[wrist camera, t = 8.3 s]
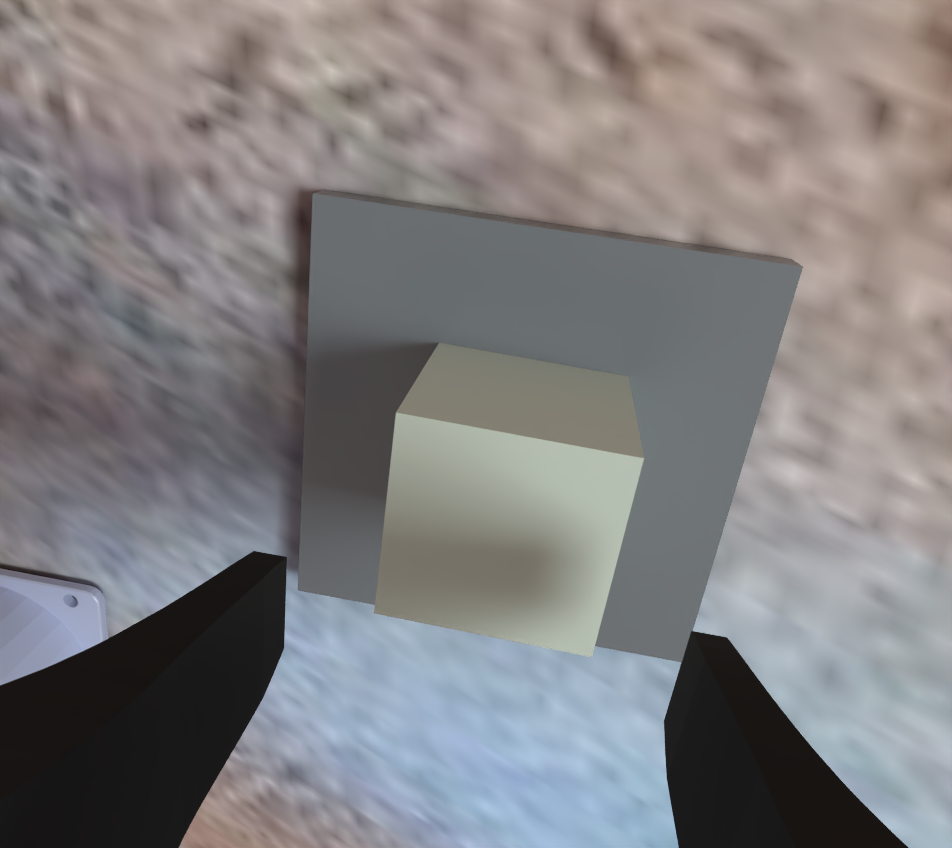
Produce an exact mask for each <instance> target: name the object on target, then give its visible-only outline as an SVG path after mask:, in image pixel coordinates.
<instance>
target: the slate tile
mask: <svg viewBox="0 0 952 848" xmlns="http://www.w3.org/2000/svg"><path fill="white" fill-rule="evenodd" d="M802 268H803V267H802V266H801V265H800V264H798V263H797V262H795V261H794V260H792V259H786V258H780V257H773V256H766V255H760V254H753V253H746V252H740V251H733V250H726V249H719V248H713V247H706V246H699V245H693V244H686V243H679V242H672V241H666V240H659V239H652V238H646V237H639V236H632V235H625V234H619V233H612V232H605V231H599V230H592V229H585V228H579V227H572V226H565V225H558V224H552V223H545V222H538V221H532V220H525V219H518V218H511V217H505V216H498V215H491V214H485V213H478V212H471V211H464V210H458V209H451V208H444V207H438V206H431V205H424V204H417V203H411V202H404V201H397V200H391V199H384V198H377V197H371V196H364V195H357V194H350V193H344V192H337V191H330V190H323V191H319V192H316V193H313V196H312V223H311V250H310V276H309V303H308V330H307V357H306V383H305V410H304V437H303V463H302V490H301V517H300V543H299V570H298V590H299V591H305V592H310V593H315V594H321V595H326V596H331V597H337V598H342V599H347V600H353V601H358V602H363V603H369V604H374V605H375V600H376V591H377V582H378V573H379V563H380V554H381V545H382V536H383V527H384V518H385V508H386V499H387V490H388V481H389V472H390V463H391V454H392V444H393V435H394V426H395V417H396V412H397V410H398V408H399V407H400V405H401V404H402V402H403V400H404V399H405V397H406V396H407V394H408V392H409V391H410V389H411V387H412V386H413V384H414V383H415V381H416V379H417V378H418V376H419V374H420V373H421V371H422V370H423V368H424V366H425V365H426V363H427V361H428V360H429V358H430V357H431V355H432V353H433V352H434V350H435V349H436V347H437V345H438V344H439V343H444V344H449V345H455V346H461V347H466V348H472V349H478V350H483V351H489V352H494V353H500V354H506V355H511V356H517V357H522V358H528V359H534V360H539V361H545V362H550V363H556V364H562V365H567V366H573V367H578V368H584V369H590V370H595V371H601V372H606V373H612V374H618V375H623V376H628V377H629V382H630V387H631V392H632V398H633V403H634V408H635V413H636V419H637V424H638V429H639V434H640V440H641V445H642V450H643V455H644V461H643V465H642V468H641V472H640V476H639V480H638V484H637V487H636V491H635V495H634V499H633V503H632V506H631V510H630V514H629V518H628V522H627V525H626V529H625V533H624V537H623V541H622V545H621V548H620V552H619V556H618V560H617V564H616V567H615V571H614V575H613V579H612V583H611V586H610V590H609V594H608V598H607V602H606V606H605V609H604V613H603V617H602V621H601V625H600V628H599V632H598V636H597V640H596V644H595V646H598V647H603V648H609V649H614V650H619V651H625V652H630V653H636V654H641V655H646V656H652V657H657V658H662V659H668V660H673V661H678V662H682V660H683V657H684V653H685V650H686V647H687V643H688V640H689V637H690V633H691V631H693V627H694V624H695V621H696V618H697V614H698V611H699V608H700V604H701V601H702V598H703V594H704V591H705V588H706V585H707V581H708V578H709V575H710V571H711V568H712V565H713V561H714V558H715V555H716V552H717V548H718V545H719V542H720V538H721V535H722V532H723V528H724V525H725V522H726V519H727V515H728V512H729V509H730V505H731V502H732V499H733V496H734V492H735V489H736V486H737V482H738V479H739V476H740V472H741V469H742V466H743V463H744V459H745V456H746V453H747V449H748V446H749V443H750V439H751V436H752V433H753V430H754V426H755V423H756V420H757V416H758V413H759V410H760V406H761V403H762V400H763V397H764V393H765V390H766V387H767V383H768V380H769V377H770V373H771V370H772V367H773V364H774V360H775V357H776V354H777V350H778V347H779V344H780V340H781V337H782V334H783V331H784V327H785V324H786V321H787V317H788V314H789V311H790V308H791V304H792V301H793V298H794V294H795V291H796V288H797V284H798V281H799V278H800V275H801V271H802Z"/></svg>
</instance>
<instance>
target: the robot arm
mask: <svg viewBox="0 0 952 848" xmlns="http://www.w3.org/2000/svg"><path fill="white" fill-rule="evenodd" d="M286 564H287V557H283V556H278V555H272V554H267V553H261V552H256V551H253V552H252V553H250V554H248V555H247V556H245V557H244V558H242V559H240V560H239V561H237V562H236V563H234V564H233V565H231V566H230V567H228V568H226V569H225V570H223V571H222V572H220V573H219V574H217V575H216V576H214V577H213V578H211V579H209V580H208V581H206V582H205V583H203V584H202V585H200V586H198V587H197V588H195V589H194V590H192V591H190V592H189V593H187V594H186V595H184V596H182V597H181V598H179V599H177V600H176V601H174V602H173V603H171V604H169V605H168V606H166V607H164V608H163V609H161V610H159V611H157V612H156V613H154V614H152V615H150V616H148V617H147V618H145V619H143V620H141V621H139V622H138V623H136V624H134V625H132V626H131V627H129V628H127V629H125V630H123V631H122V632H120V633H118V634H116V635H114V636H112V637H110V638H109V639H108V630H107V619H106V608H105V599H104V596H103V594H102V593H101V591H100V590H98V589H97V588H95V587H93V586H90V585H84V584H79V583H74V582H69V581H64V580H58V579H53V578H48V577H43V576H37V575H32V574H27V573H22V572H16V571H11V570H6V569H1V568H0V848H179V846H180V844H181V841H182V839H183V837H184V835H185V833H186V831H187V830H188V828H189V826H190V824H191V822H192V820H193V818H194V816H195V815H196V813H197V811H198V809H199V807H200V806H201V804H202V802H203V800H204V799H205V797H206V795H207V794H208V792H209V790H210V788H211V787H212V785H213V783H214V782H215V780H216V778H217V777H218V775H219V773H220V771H221V770H222V768H223V766H224V765H225V763H226V761H227V759H228V758H229V756H230V754H231V753H232V751H233V749H234V748H235V746H236V744H237V742H238V741H239V739H240V737H241V736H242V734H243V732H244V730H245V729H246V727H247V725H248V723H249V722H250V720H251V718H252V716H253V715H254V713H255V711H256V709H257V708H258V706H259V704H260V702H261V701H262V699H263V697H264V694H265V692H266V690H267V687H268V685H269V683H270V681H271V678H272V676H273V674H274V671H275V669H276V666H277V664H278V661H279V659H280V657H281V654H282V652H283V649H284V629H285V597H286ZM72 596H74V597H75V598H76V599H77V600H76V599H75V598H73V597H72ZM664 730H665V754H666V770H667V781H668V787H669V794H670V799H671V805H672V811H673V817H674V823H675V828H676V834H677V839H678V845H679V848H908V847H907V846H906V845H905V844H904V843H903V842H902V841H901V840H900V839H898V838H897V837H896V836H895V835H894V834H893V833H892V832H891V831H890V830H889V829H888V828H887V827H886V826H885V825H884V824H883V823H882V822H881V821H880V820H879V819H878V818H877V817H876V816H875V815H874V814H873V813H872V812H871V811H870V810H869V809H868V808H867V807H866V806H865V805H864V804H863V803H862V802H861V801H860V800H859V799H858V798H857V797H856V796H855V795H854V794H853V793H852V792H851V791H850V790H849V789H848V787H847V786H846V785H845V784H844V783H843V782H842V781H841V780H840V779H839V778H838V776H837V775H836V774H835V773H834V772H833V771H832V770H831V769H830V767H829V766H828V765H827V764H826V763H825V762H824V761H823V760H822V758H821V757H820V756H819V755H818V754H817V753H816V752H815V750H814V749H813V748H812V747H811V746H810V744H809V743H808V742H807V741H806V740H805V738H804V737H803V736H802V735H801V734H800V732H799V731H798V730H797V729H796V728H795V726H794V725H793V724H792V723H791V721H790V720H789V719H788V718H787V716H786V715H785V714H784V712H783V711H782V710H781V709H780V707H779V706H778V705H777V703H776V702H775V701H774V700H773V698H772V697H771V696H770V694H769V693H768V692H767V690H766V689H765V688H764V686H763V685H762V684H761V682H760V681H759V680H758V678H757V677H756V676H755V674H754V673H753V672H752V670H751V669H750V668H749V666H748V665H747V664H746V662H745V661H744V659H743V658H742V657H741V655H740V654H739V653H738V651H737V650H736V649H735V647H734V646H733V645H732V643H731V642H730V641H729V640H728V638H726V637H721V636H716V635H710V634H705V633H699V632H694V631H691V633H690V637H689V640H688V643H687V647H686V650H685V653H684V657H683V660H682V663H681V667H680V670H679V673H678V677H677V680H676V683H675V686H674V690H673V693H672V696H671V700H670V703H669V706H668V710H667V713H666V716H665V720H664Z"/></svg>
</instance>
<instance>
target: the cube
mask: <svg viewBox="0 0 952 848" xmlns="http://www.w3.org/2000/svg"><path fill="white" fill-rule="evenodd" d="M643 461H644V455H643V450H642V445H641V440H640V434H639V429H638V424H637V419H636V413H635V408H634V403H633V398H632V392H631V387H630V382H629V377H628V376H623V375H618V374H612V373H606V372H601V371H595V370H590V369H584V368H578V367H573V366H567V365H562V364H556V363H550V362H545V361H539V360H534V359H528V358H522V357H517V356H511V355H506V354H500V353H494V352H489V351H483V350H478V349H472V348H466V347H461V346H455V345H449V344H444V343H439V344H438V345H437V347H436V349H435V350H434V352H433V353H432V355H431V357H430V358H429V360H428V361H427V363H426V365H425V366H424V368H423V370H422V371H421V373H420V374H419V376H418V378H417V379H416V381H415V383H414V384H413V386H412V387H411V389H410V391H409V392H408V394H407V396H406V397H405V399H404V400H403V402H402V404H401V405H400V407H399V408H398V410H397V412H396V417H395V426H394V435H393V444H392V454H391V463H390V472H389V481H388V490H387V499H386V508H385V518H384V527H383V536H382V545H381V554H380V563H379V573H378V582H377V591H376V600H375V609H374V613H376V614H381V615H386V616H391V617H395V618H400V619H405V620H410V621H415V622H420V623H425V624H430V625H435V626H440V627H445V628H450V629H455V630H460V631H465V632H470V633H475V634H479V635H484V636H489V637H494V638H499V639H504V640H509V641H514V642H519V643H524V644H529V645H534V646H539V647H544V648H549V649H554V650H558V651H563V652H568V653H573V654H578V655H583V656H588V657H592V655H593V651H594V647H595V644H596V640H597V636H598V632H599V628H600V625H601V621H602V617H603V613H604V609H605V606H606V602H607V598H608V594H609V590H610V586H611V583H612V579H613V575H614V571H615V567H616V564H617V560H618V556H619V552H620V548H621V545H622V541H623V537H624V533H625V529H626V525H627V522H628V518H629V514H630V510H631V506H632V503H633V499H634V495H635V491H636V487H637V484H638V480H639V476H640V472H641V468H642V465H643Z"/></svg>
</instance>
